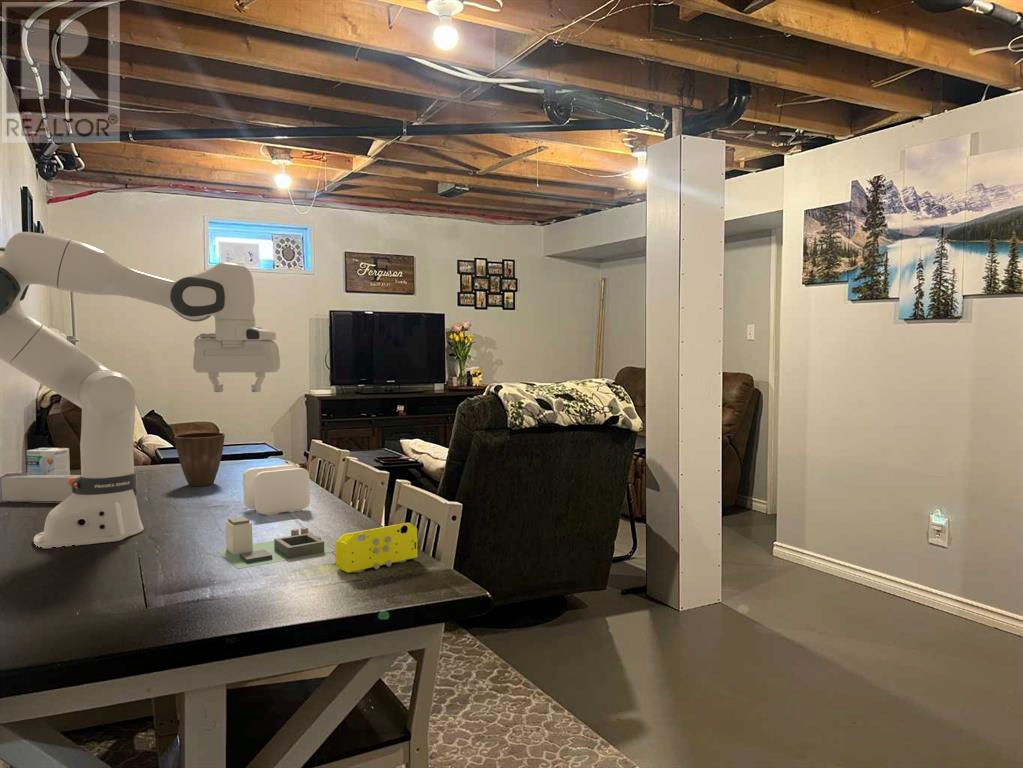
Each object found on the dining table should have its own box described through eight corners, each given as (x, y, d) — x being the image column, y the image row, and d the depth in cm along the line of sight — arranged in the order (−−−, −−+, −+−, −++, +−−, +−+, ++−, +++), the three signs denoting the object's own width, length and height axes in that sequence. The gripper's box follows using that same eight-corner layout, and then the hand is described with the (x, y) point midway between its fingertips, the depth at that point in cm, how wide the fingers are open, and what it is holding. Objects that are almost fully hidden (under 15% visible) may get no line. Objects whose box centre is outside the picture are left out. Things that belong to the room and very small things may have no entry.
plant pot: (185, 480, 243) (183, 432, 243) (231, 479, 245) (230, 431, 244) (169, 489, 229) (167, 438, 228) (218, 488, 230) (217, 437, 229)
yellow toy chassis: (348, 577, 142) (347, 534, 142) (335, 570, 147) (334, 529, 146) (418, 561, 152) (418, 521, 152) (404, 555, 157) (403, 516, 156)
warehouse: (130, 493, 224) (129, 468, 224) (102, 503, 210) (101, 477, 210) (35, 493, 226) (34, 468, 225) (1, 503, 211) (-1, 477, 211)
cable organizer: (253, 518, 191) (252, 473, 190) (243, 510, 199) (242, 468, 199) (310, 510, 199) (309, 467, 198) (298, 503, 208) (297, 462, 207)
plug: (233, 554, 152) (232, 523, 152) (226, 549, 156) (225, 518, 156) (255, 550, 155) (254, 519, 154) (247, 545, 159) (247, 515, 158)
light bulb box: (26, 482, 241) (25, 450, 241) (43, 479, 248) (41, 447, 247) (55, 483, 239) (54, 450, 239) (71, 479, 246) (70, 447, 245)
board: (238, 576, 142) (237, 556, 142) (216, 557, 155) (215, 539, 155) (335, 558, 154) (335, 539, 154) (307, 541, 167) (307, 524, 167)
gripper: (186, 333, 170) (188, 392, 171) (270, 332, 168) (271, 392, 168) (201, 333, 177) (203, 391, 177) (282, 332, 174) (283, 391, 175)
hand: (237, 392), depth 173 cm, fingers open, 8 cm apart
